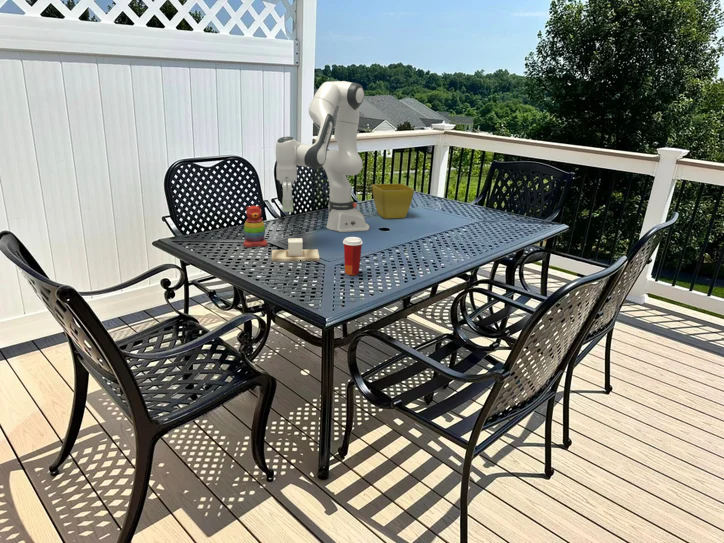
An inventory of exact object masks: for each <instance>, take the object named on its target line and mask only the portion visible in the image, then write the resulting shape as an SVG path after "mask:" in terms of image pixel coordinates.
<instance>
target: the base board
mask: <svg viewBox="0 0 724 543" xmlns="http://www.w3.org/2000/svg"><path fill="white" fill-rule="evenodd" d="M319 254H320V253H319V249H318V248H317V249H316V248H315V249H312V248H311V249H303V256H288V249H272V250H271V262H272V261H275V262H320V255H319ZM300 260H301V261H300ZM306 260H307V261H306Z"/></svg>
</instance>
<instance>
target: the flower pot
mask: <svg viewBox="0 0 724 543" xmlns="http://www.w3.org/2000/svg"><path fill="white" fill-rule="evenodd" d="M371 188H372V196H373V202H374V206H375V209H376V212H377V215H379V216H380V217H382V218H383V219H384V220H385V219H405V218H406V216H407V215H408V212H409V210H410V206H411V204H412V201H413V197H414V192H415V189H414V188H413V187H410V186H408V185H406V184H404V183H385V184H383V183H379V184H377V183H375V184H372V185H371Z"/></svg>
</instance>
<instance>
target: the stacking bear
mask: <svg viewBox="0 0 724 543" xmlns="http://www.w3.org/2000/svg"><path fill="white" fill-rule="evenodd" d="M261 208H262V206H261V205H251V206H250V205H249V206H246V207H245V210H246V211H245V212H246V213H245V214H246V216H247V218H246V220H245V222H244V226H243V230H244V232H243V233H244V237H245V240H244V241H243V244H242V245H243V247H244V246H246V247H245V248H252V246H254V247H260V246H262V247H263V246H265V247H267V246H269V245H268V241H267V240H266V239H265V235H266V227H265V222H264V221H263V218H262V210H261ZM263 248H264V247H263Z"/></svg>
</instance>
